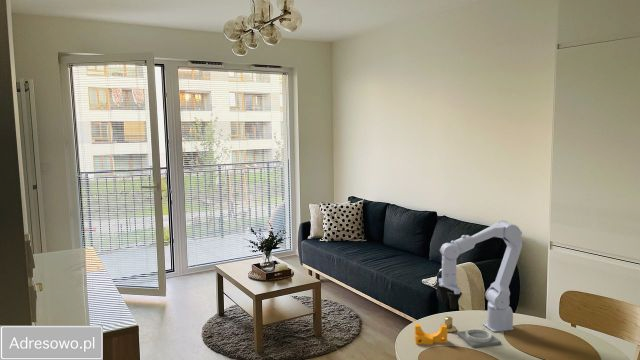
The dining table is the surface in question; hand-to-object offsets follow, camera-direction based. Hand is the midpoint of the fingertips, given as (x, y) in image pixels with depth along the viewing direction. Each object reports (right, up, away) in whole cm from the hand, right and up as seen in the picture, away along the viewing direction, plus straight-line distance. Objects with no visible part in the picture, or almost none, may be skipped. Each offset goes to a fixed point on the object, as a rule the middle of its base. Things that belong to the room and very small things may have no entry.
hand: (448, 305), depth 193 cm
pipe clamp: (-10, -12, -10) cm, 18 cm away
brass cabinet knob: (0, -10, +1) cm, 10 cm away
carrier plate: (+9, -11, -8) cm, 17 cm away
